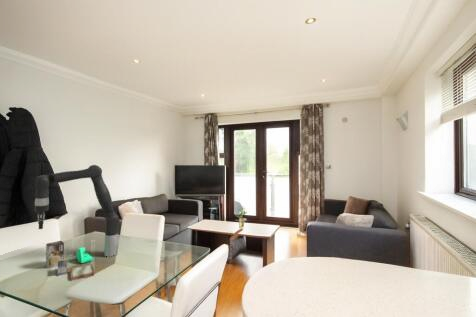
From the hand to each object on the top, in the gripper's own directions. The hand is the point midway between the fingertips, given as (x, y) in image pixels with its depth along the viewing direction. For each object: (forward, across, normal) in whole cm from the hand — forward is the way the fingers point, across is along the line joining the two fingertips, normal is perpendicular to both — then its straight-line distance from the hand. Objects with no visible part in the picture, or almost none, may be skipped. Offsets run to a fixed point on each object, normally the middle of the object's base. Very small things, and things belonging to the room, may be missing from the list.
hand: (40, 227), depth 167 cm
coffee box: (+29, 0, -8) cm, 31 cm away
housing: (+29, -14, -13) cm, 35 cm away
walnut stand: (+29, -22, -24) cm, 44 cm away
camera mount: (+30, -1, -27) cm, 40 cm away
